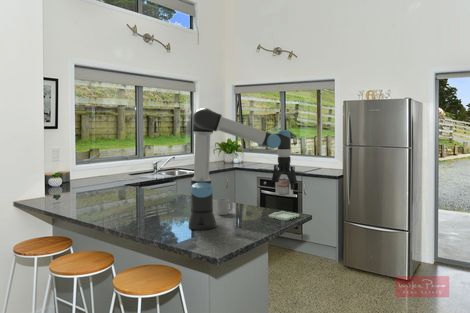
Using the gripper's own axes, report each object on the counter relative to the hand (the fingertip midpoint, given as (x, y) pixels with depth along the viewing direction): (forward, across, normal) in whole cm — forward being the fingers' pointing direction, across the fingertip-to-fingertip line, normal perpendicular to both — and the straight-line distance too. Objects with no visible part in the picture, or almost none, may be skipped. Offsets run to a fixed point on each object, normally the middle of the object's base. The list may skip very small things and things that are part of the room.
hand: (284, 193), depth 232 cm
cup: (+14, +33, +17) cm, 40 cm away
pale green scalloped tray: (+14, 0, 0) cm, 14 cm away
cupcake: (0, 0, 0) cm, 0 cm away
